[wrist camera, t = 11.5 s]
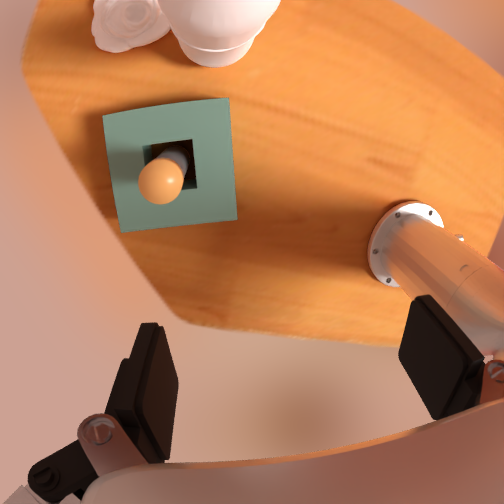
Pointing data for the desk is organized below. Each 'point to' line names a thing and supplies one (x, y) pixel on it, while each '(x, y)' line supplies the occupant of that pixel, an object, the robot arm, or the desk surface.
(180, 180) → the round peg
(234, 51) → the water bottle
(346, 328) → the desk surface
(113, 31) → the rose
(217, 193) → the socket block
